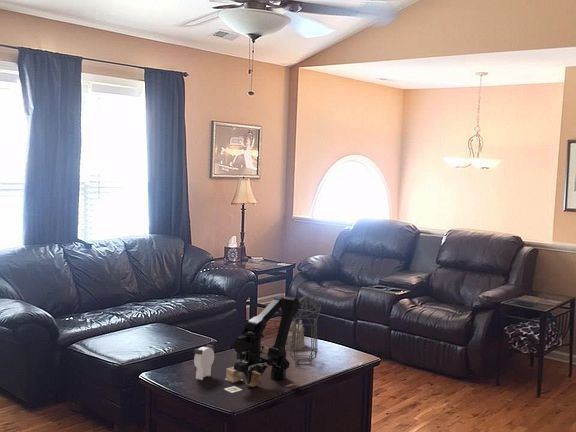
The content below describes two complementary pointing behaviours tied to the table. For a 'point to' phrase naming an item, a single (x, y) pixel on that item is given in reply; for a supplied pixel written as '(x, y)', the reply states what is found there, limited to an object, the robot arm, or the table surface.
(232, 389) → the board
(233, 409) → the table surface
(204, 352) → the white rounded piece
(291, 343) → the geometric lantern
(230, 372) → the oak block
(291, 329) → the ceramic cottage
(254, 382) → the walnut block
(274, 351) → the robot arm
